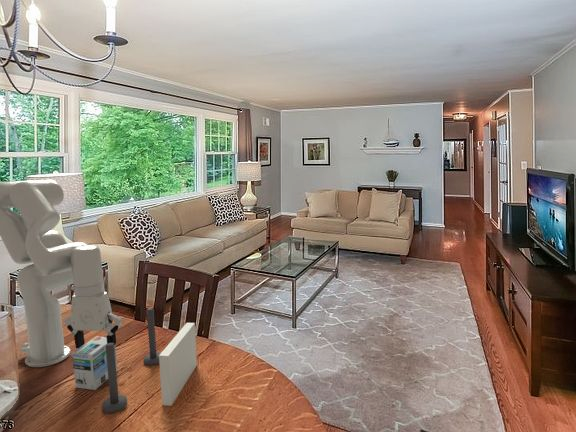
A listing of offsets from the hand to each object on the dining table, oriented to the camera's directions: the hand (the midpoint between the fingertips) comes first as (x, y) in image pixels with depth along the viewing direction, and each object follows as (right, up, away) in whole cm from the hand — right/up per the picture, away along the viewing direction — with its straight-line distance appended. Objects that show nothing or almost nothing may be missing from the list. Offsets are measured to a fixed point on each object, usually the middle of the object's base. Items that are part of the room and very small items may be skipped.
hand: (96, 346), depth 114 cm
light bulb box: (-1, -10, +2) cm, 11 cm away
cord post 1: (+10, -12, -11) cm, 19 cm away
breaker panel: (+25, -10, -1) cm, 27 cm away
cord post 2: (+13, -8, +12) cm, 19 cm away
